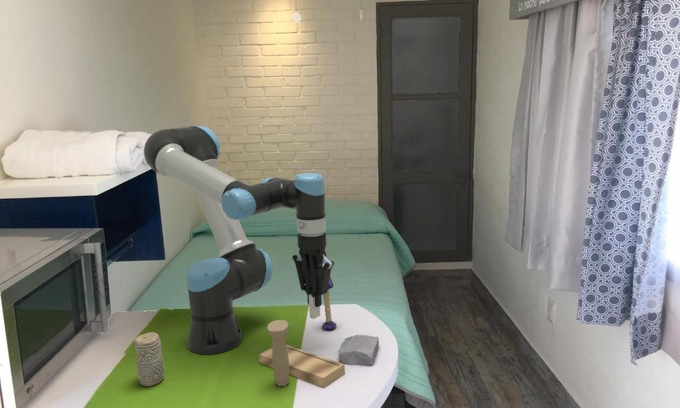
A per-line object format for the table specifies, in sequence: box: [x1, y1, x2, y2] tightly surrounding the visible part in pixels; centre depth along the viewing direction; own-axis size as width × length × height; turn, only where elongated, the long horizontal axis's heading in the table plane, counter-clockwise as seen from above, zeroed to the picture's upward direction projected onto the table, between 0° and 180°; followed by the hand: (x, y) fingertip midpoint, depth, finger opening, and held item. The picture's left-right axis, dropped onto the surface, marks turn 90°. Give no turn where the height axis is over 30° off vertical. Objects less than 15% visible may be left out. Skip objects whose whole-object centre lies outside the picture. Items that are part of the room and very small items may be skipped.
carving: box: [134, 331, 165, 387], centre depth 138 cm, size 6×8×12 cm
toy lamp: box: [321, 276, 337, 332], centre depth 163 cm, size 5×5×17 cm
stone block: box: [338, 334, 380, 366], centre depth 147 cm, size 12×5×10 cm
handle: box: [266, 319, 290, 387], centre depth 133 cm, size 5×6×15 cm
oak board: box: [258, 344, 346, 388], centre depth 142 cm, size 22×8×3 cm, turn 51°
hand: (315, 316), depth 152 cm, fingers closed
